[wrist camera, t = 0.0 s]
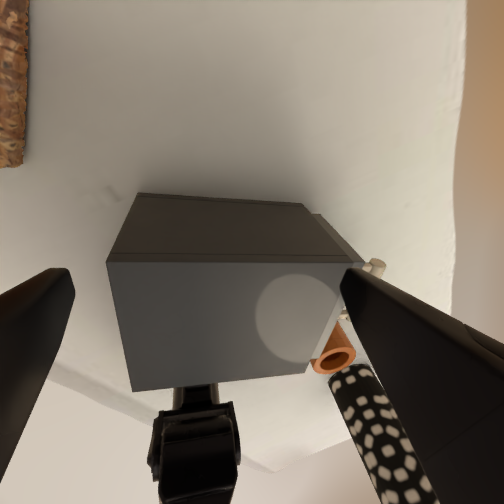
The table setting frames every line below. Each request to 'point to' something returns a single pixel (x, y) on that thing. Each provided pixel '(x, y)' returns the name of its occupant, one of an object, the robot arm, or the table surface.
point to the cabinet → (221, 289)
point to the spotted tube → (380, 438)
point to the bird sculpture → (12, 80)
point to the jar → (335, 353)
